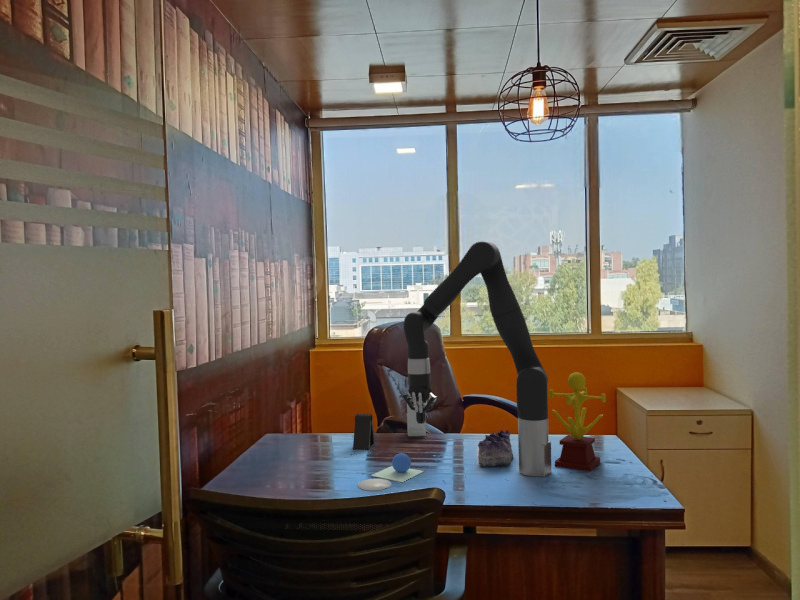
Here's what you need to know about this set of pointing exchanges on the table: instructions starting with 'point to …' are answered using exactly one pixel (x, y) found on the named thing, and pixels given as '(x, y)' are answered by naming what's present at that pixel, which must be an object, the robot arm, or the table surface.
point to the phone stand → (363, 432)
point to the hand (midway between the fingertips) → (421, 423)
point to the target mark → (396, 474)
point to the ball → (401, 462)
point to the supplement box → (414, 424)
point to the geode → (495, 449)
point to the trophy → (577, 429)
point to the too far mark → (374, 484)
